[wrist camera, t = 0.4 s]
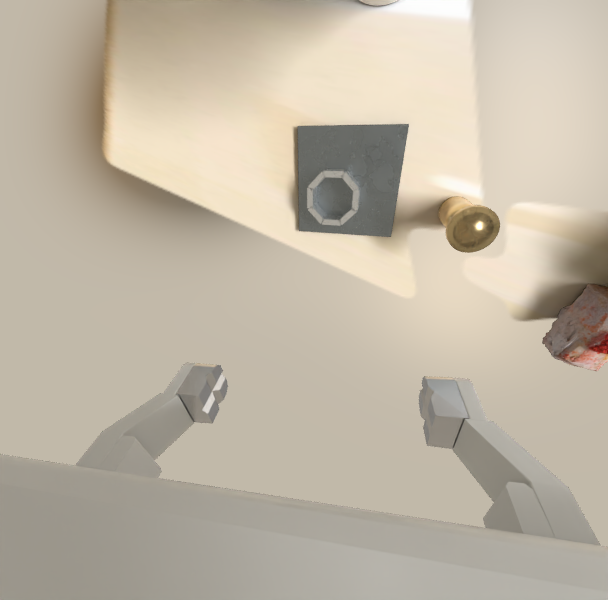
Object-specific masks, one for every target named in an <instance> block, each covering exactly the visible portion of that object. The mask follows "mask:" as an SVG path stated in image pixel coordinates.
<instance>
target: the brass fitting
mask: <svg viewBox="0 0 608 600" xmlns="http://www.w3.org/2000/svg"><path fill="white" fill-rule="evenodd" d="M438 215H439V219H440V220H441V222H442V223H443V225H444V226H445V228H446V237H447V240H448V241H449V243H450V245H451V246H452V247H453V248H455V249H456V250H458V251H461V252H468V253H469V252H476V251H479V250H481V249H484V248H485V247H487V246H488V245H490V244H491V243H492V242H493V241H494V239H495V238H496V236H497V235H498V232H499V228H500V222H499V218H498V216H497V215H496V214H495V212H493V211H492V210H491V209H489V208H487V207H485V206H481V205H473V204H472V203H471V202H469V201H468V200H467V199H465V198H463V197H459V196H456V197H451V198H449V199H447V200H446V201H445V202H444V203H443V204H442V205H441V207H440V209H439V213H438Z"/></svg>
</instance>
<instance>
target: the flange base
mask: <svg viewBox="0 0 608 600" xmlns="http://www.w3.org/2000/svg"><path fill="white" fill-rule="evenodd" d="M408 127H409V124H396V125H334V126H298V182H299V231H310V232H325V233H340V234H355V235H369V236H384V237H391V233H392V227H393V220H394V214H395V208H396V202H397V195H398V189H399V183H400V177H401V170H402V164H403V158H404V152H405V145H406V139H407V133H408Z"/></svg>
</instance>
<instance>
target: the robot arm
mask: <svg viewBox="0 0 608 600" xmlns="http://www.w3.org/2000/svg"><path fill="white" fill-rule="evenodd" d="M359 1H361V2H363V3H366V4H369V5H376V6H379V5H387V4H390V3H393V2H396V1H398V0H359ZM222 371H223V370H222V368H221V365H213V364H200V363H185V364H184V365H183V366H182V367H181V369H180V370H179V371H178V373H177V375H176V376H175V377H174V379H173V380H172V382H171V383H170V384H169V386H168V387H167V389H166V390H165V392H164V393H163V394H161V393H160V394H158V395H157V396H155V397H154V398H152V399H151V400H149V401H148V402H146V403H145V404H143V405H142V406H140V407H139V408H137V409H136V410H134V411H133V412H131V413H129V414H128V415H126V416H125V417H124V418H122V419H120V420H119V421H117V422H116V423H114V424H113V425H111V426H110V427H108V428H107V429H105V430H104V431H102V432H101V434H100V435H99V436H98V437H97V439H96V440H95V441H94V443H93V444H92V445H91V446H90V447H89V449H88V450H87V451H86V452H85V454H84V455H83V456H82V458H81V459H80V460H79V461H78V463H77V464H76V465H68V464H61V463H55V462H49V461H42V460H35V459H29V458H22V457H16V456H9V455H3V454H0V600H608V547H607V546H601V545H600V543H599V541H598V540H597V538H596V536H595V534H594V533H593V531H592V529H591V527H590V525H589V523H588V521H587V520H586V518H585V516H584V514H583V513H582V511H581V509H580V507H579V505H578V504H577V502H576V500H575V498H574V496H573V494H572V492H571V491H570V489H569V487H567V486H566V485H565V484H564V483H563V482H562V481H561V480H559V479H558V478H557V477H556V476H555V475H554V474H553V473H551V472H550V471H549V470H548V469H547V468H546V467H545V466H543V465H542V464H541V463H540V462H539V461H538V460H536V459H535V458H534V457H533V456H532V455H531V454H530V453H529V452H527V451H526V450H525V449H524V448H523V447H522V446H520V445H519V444H518V443H517V442H516V441H515V440H514V439H513V438H511V437H510V436H509V435H508V434H507V433H506V432H505V431H503V430H502V429H501V428H500V427H499V426H498V425H497V424H495V423H494V422H493V421H488V420H487V417H486V415H485V412H484V410H483V408H482V406H481V403H480V401H479V398H478V396H477V393H476V391H475V389H474V387H473V384H472V381H470V379H463V378H448V377H426V376H424V377H423V380H422V386H423V389H422V390H421V391H420V395H419V407H420V413H421V417H422V418H423V419H424V420H425V423H424V427H423V429H424V434H425V438H426V443H427V446H434V447H442V448H449V449H453V451H454V452H455V454H456V455H457V456H458V457H459V459H460V460H461V461H462V462H463V464H464V465H465V466H466V468H467V469H468V470H469V471H470V473H471V474H472V475H473V476H474V478H475V479H476V480H477V482H478V483H479V484H480V485H481V486H482V488H483V489H484V490H485V492H486V493H487V494H488V495H489V497H490V498H491V499H492V501H493V502H494V503H493V505H492V506H491V508H490V509H489V511H488V512H487V513H486V515H485V516H484V518H483V520H484V524H485V527H486V528H483V527H476V526H469V525H463V524H456V523H449V522H443V521H437V520H430V519H423V518H417V517H410V516H404V515H397V514H391V513H384V512H377V511H371V510H364V509H358V508H351V507H345V506H338V505H332V504H325V503H318V502H312V501H305V500H299V499H292V498H285V497H279V496H273V495H266V494H259V493H253V492H246V491H240V490H233V489H226V488H220V487H213V486H206V485H200V484H194V483H187V482H181V481H174V480H167V479H160V478H158V477H159V475H160V473H161V468H160V467H159V465H158V464H157V463H156V462H155V461H154V460H155V459H156V458H157V457H158V456H160V455H161V454H162V453H163V452H164V451H165V450H166V449H167V448H168V447H169V446H170V445H171V444H172V443H173V442H174V441H176V440H177V439H178V438H179V437H180V436H181V435H182V434H183V433H184V432H185V431H186V430H187V429H188V428H189V427H190V426H191V425H193V423H194V422H200V423H213V421H214V419H215V417H216V415H217V413H218V411H219V405H218V404H219V403H220V402H221V401H223V400H224V398H225V395H226V392H227V387H228V385H227V380H226V378H225V377H224V376H223V375H222V374H221V373H222Z"/></svg>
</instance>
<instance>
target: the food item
mask: <svg viewBox="0 0 608 600" xmlns="http://www.w3.org/2000/svg"><path fill="white" fill-rule="evenodd" d="M557 317H558V319H557V320H556V321H555V322H553V324H552V329H551V330H550V331H549V332H548V333H546V336H545V337H544V338H543V342H542V343H543V344H545V346H546V347H547V348H548V350H549V352H550V353H551V355H552V356H553V357H554V358H555V359H558V360H561V361H563V362H565V363H567V364H570V365H573V366H577V367H582V368H585V369H590V370H594V371H598V370H599V369H600V367H601V366H602V365H603V364H604V363H606V362H607V361H608V287H605V286H600V285H595V284H588V285H587V286H586V288H585V289H584V291H583V293H582V294H581V296H579V297H578V298H577V299H576V300H575V301H574V303H573V304H572V305H570V306H567V307H564V308H562V309H561V310H560V313H559V314H558V316H557Z"/></svg>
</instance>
